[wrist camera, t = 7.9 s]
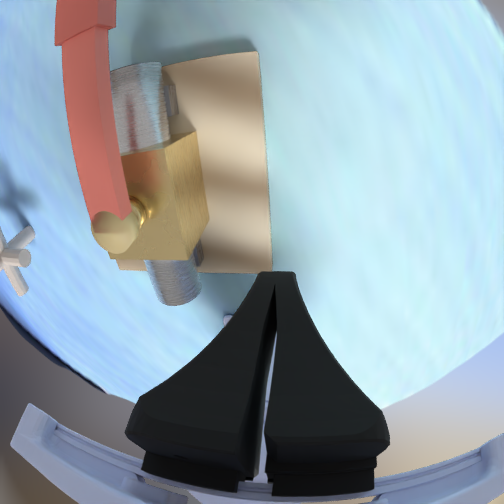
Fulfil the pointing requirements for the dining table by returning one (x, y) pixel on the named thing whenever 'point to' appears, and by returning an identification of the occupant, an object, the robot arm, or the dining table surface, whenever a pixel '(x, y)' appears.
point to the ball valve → (160, 182)
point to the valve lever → (94, 118)
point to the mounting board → (226, 158)
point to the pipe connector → (16, 258)
